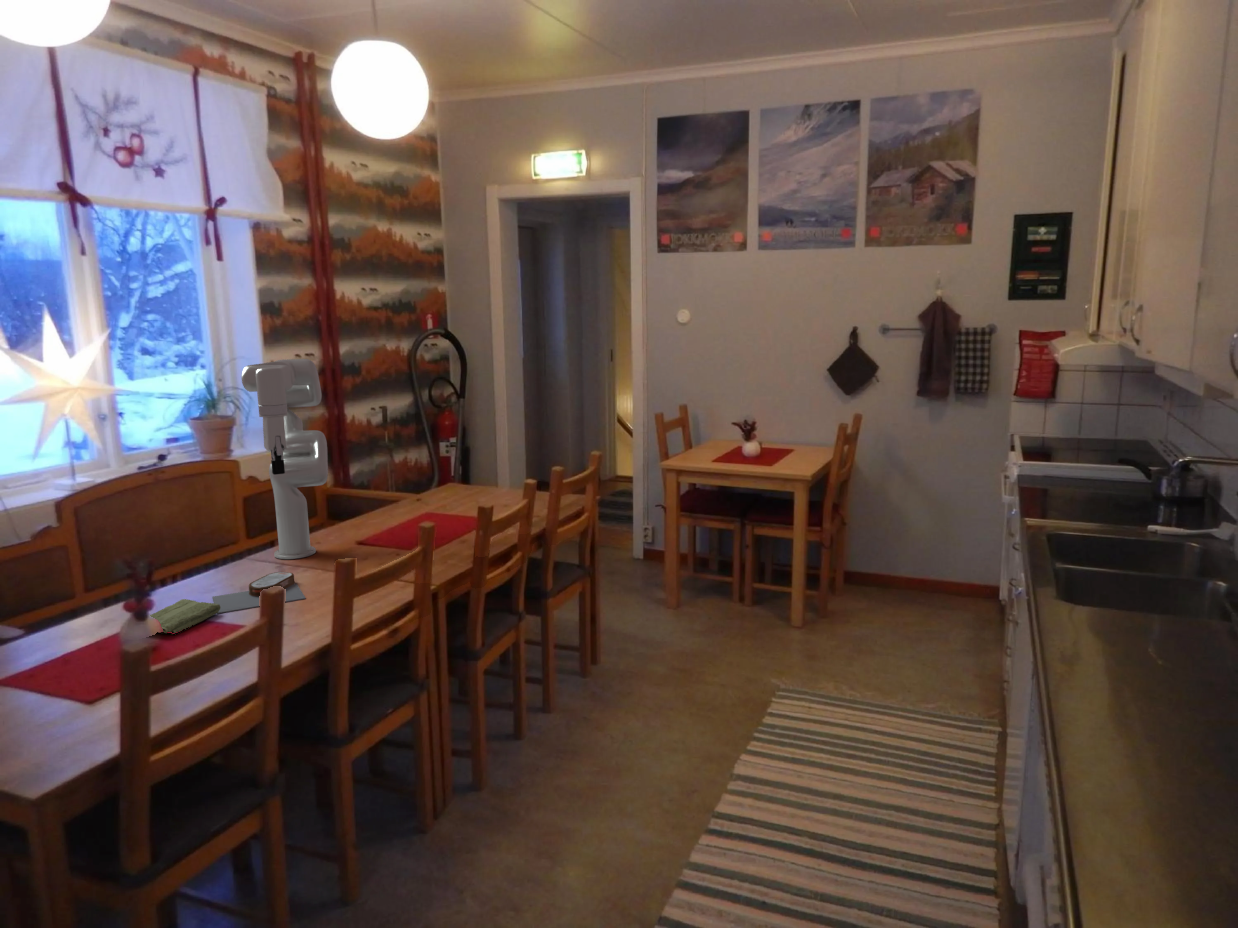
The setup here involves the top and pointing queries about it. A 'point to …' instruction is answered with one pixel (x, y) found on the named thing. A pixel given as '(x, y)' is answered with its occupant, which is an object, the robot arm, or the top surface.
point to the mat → (251, 599)
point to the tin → (271, 582)
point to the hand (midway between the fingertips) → (278, 473)
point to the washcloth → (184, 614)
